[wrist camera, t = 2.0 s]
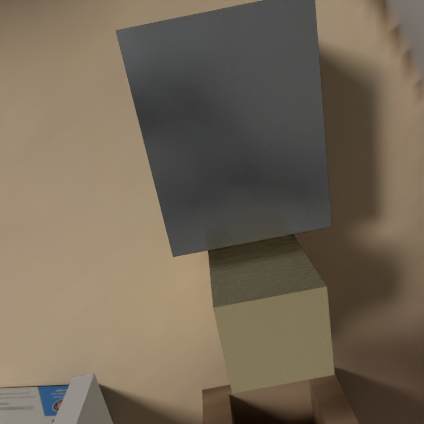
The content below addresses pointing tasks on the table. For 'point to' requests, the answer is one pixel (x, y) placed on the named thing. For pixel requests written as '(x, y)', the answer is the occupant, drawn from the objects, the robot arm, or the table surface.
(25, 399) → the ink box
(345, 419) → the socket
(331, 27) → the table surface
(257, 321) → the l-shaped notched block
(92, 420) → the robot arm
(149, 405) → the table surface
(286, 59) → the sleeve
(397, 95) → the table surface
